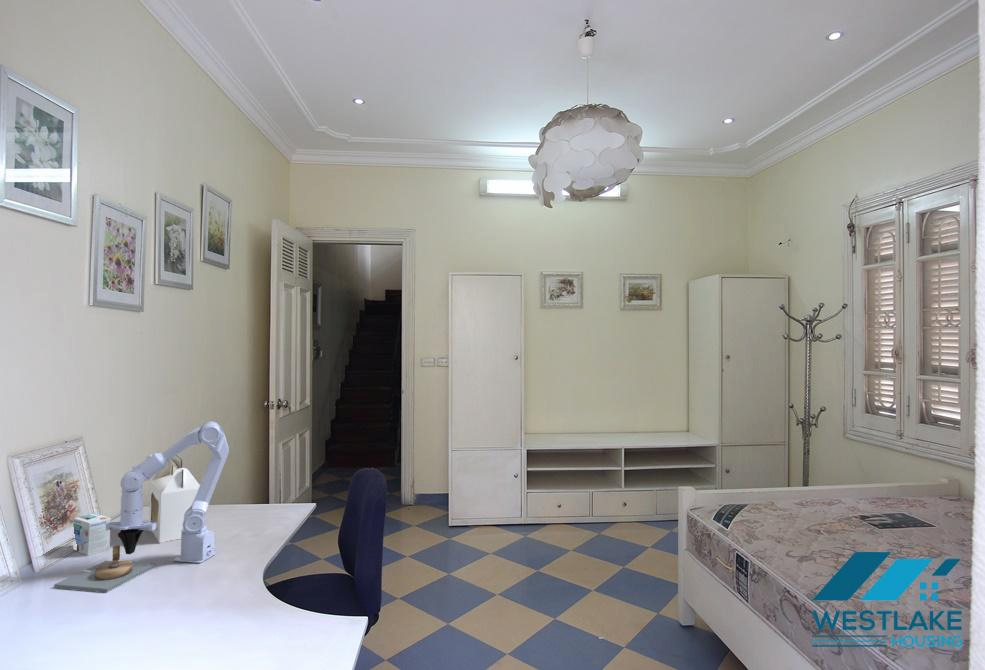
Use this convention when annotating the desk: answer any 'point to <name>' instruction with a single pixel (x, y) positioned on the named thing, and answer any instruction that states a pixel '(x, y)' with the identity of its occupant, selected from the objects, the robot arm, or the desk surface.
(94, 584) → the base plate
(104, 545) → the light bulb box
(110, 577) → the dial
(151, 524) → the robot arm
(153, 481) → the gable box
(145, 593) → the desk surface
